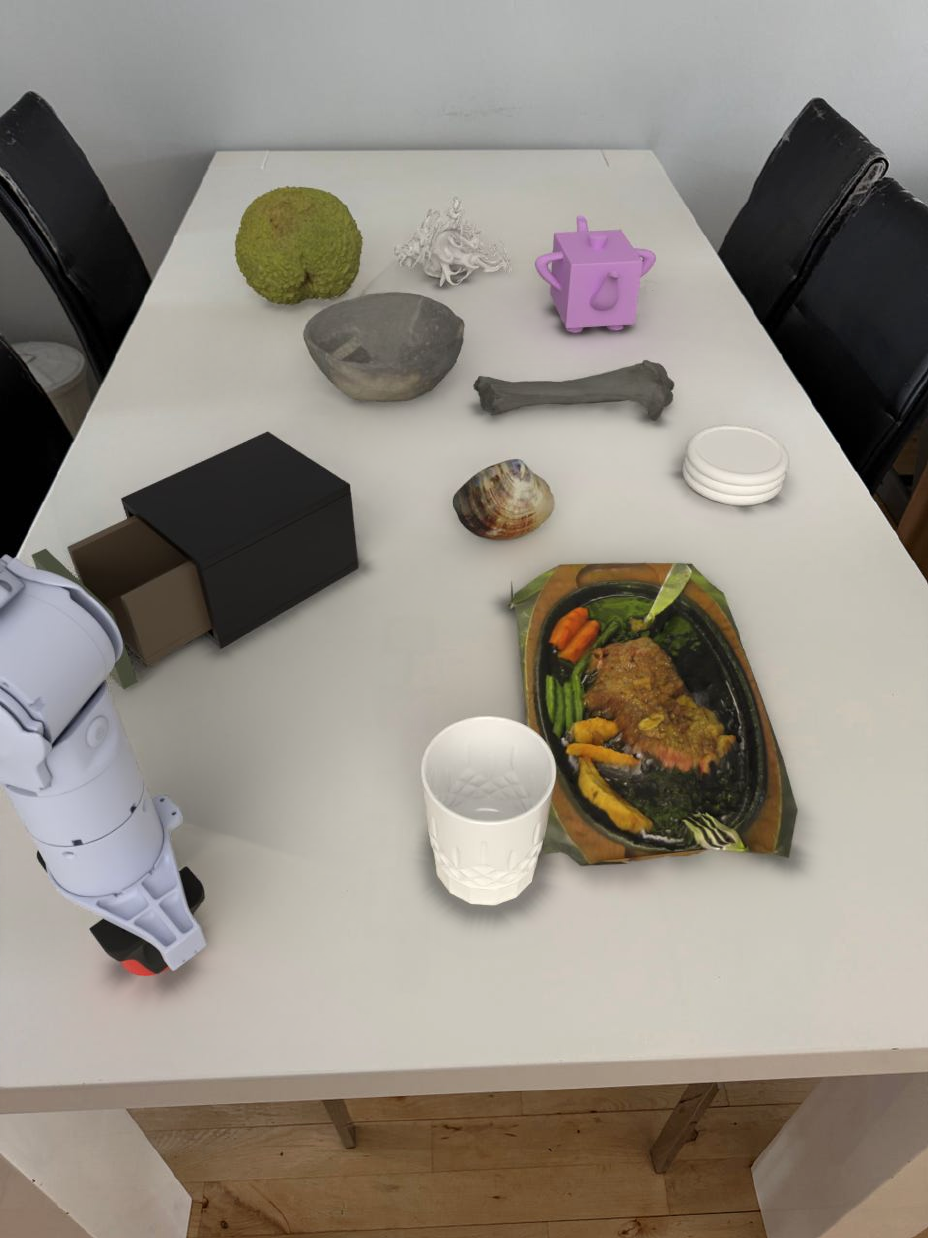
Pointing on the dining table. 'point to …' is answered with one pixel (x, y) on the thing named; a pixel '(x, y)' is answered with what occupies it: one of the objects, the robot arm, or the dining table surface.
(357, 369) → the bowl
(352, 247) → the fruit
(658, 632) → the prepared meal
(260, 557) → the cabinet
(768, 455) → the white round flat stack
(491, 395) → the bone
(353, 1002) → the dining table surface
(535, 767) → the white cup
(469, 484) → the seashell
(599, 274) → the teapot
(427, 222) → the figurine
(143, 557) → the drawer
